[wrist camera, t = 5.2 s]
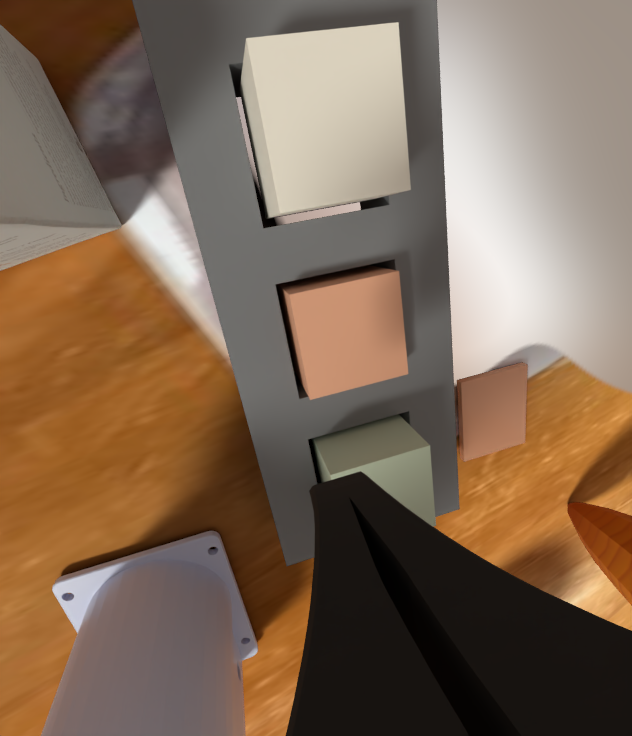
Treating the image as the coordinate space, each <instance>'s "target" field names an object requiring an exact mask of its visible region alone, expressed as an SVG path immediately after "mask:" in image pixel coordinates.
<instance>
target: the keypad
mask: <svg viewBox="0 0 632 736" xmlns="http://www.w3.org/2000/svg"><path fill="white" fill-rule="evenodd" d="M132 1H133V5H134V9H135V12H136V16H137V20H138V23H139V27H140V31H141V34H142V38H143V42H144V45H145V49H146V53H147V56H148V60H149V64H150V67H151V71H152V75H153V78H154V82H155V86H156V89H157V93H158V97H159V100H160V104H161V108H162V111H163V115H164V119H165V122H166V126H167V130H168V133H169V137H170V140H171V144H172V148H173V151H174V155H175V159H176V162H177V166H178V170H179V173H180V177H181V181H182V184H183V188H184V192H185V195H186V199H187V203H188V206H189V210H190V214H191V217H192V221H193V225H194V228H195V232H196V236H197V239H198V243H199V247H200V250H201V254H202V258H203V261H204V265H205V269H206V272H207V276H208V280H209V283H210V287H211V291H212V294H213V298H214V302H215V305H216V309H217V313H218V316H219V320H220V324H221V327H222V331H223V335H224V338H225V342H226V346H227V349H228V353H229V357H230V360H231V364H232V368H233V371H234V375H235V379H236V382H237V386H238V390H239V393H240V397H241V401H242V404H243V408H244V412H245V415H246V419H247V423H248V426H249V430H250V434H251V437H252V441H253V445H254V448H255V452H256V456H257V459H258V463H259V467H260V470H261V474H262V478H263V481H264V485H265V489H266V492H267V496H268V499H269V503H270V507H271V510H272V514H273V518H274V521H275V525H276V529H277V532H278V536H279V540H280V543H281V547H282V551H283V554H284V558H285V562H286V565H287V566H289V565H292V564H295V563H298V562H301V561H304V560H307V559H310V558H313V557H314V552H315V523H314V511H313V506H312V502H311V497H310V493H309V490H310V489H311V487H312V486H313V485H316V484H320V483H321V482H320V483H317V481H316V476H315V471H314V466H313V462H312V457H311V452H310V447H309V443H308V439H311V438H315V437H319V436H322V435H326V434H329V433H333V432H336V431H340V430H343V429H347V428H351V427H354V426H358V425H361V424H365V423H368V422H372V421H375V420H379V419H383V418H386V417H390V416H393V415H397V414H399V415H400V416H401V417H402V418H403V419H404V420H405V421H406V422H407V423H408V424H409V425H410V426H411V427H412V428H413V429H414V430H415V431H416V432H417V433H418V434H419V435H420V436H421V437H422V438H423V439H424V440H425V441H426V442H427V443H428V444H429V445H430V453H431V466H432V479H433V493H434V506H435V517H437V516H440V515H443V514H446V513H449V512H452V511H455V510H458V509H459V489H458V467H457V445H456V422H455V400H454V379H453V355H452V333H451V311H450V288H449V268H448V267H449V266H448V245H447V222H446V221H447V220H446V199H445V176H444V155H443V154H444V153H443V131H442V109H441V86H440V64H439V41H438V19H437V0H132ZM396 22H398V23H399V37H400V50H401V63H402V77H403V90H404V104H405V117H406V131H407V144H408V157H409V171H410V184H411V190H408V191H404V192H400V193H396V194H392V195H388V196H384V197H380V198H376V199H372V200H367V201H362V202H360V205H361V210H360V211H354V212H349V213H343V214H338V215H333V216H327V217H322V218H317V219H311V220H306V221H301V222H295V223H290V224H284V225H279V226H274V227H268V228H263V224H262V219H261V215H260V210H259V205H258V200H257V196H256V191H255V186H254V181H253V177H252V172H251V167H250V162H249V158H248V153H247V148H246V144H245V139H244V135H243V129H242V125H241V120H240V115H239V111H238V106H237V101H236V97H241V94H240V82H241V74H242V66H243V59H244V51H245V43H246V38H253V37H263V36H272V35H282V34H291V33H301V32H310V31H320V30H329V29H339V28H348V27H358V26H367V25H377V24H386V23H396ZM365 265H371V266H376V267H381V268H386V269H391V270H397V271H399V276H400V287H401V298H402V309H403V320H404V331H405V342H406V353H407V364H408V374H407V375H403V376H399V377H395V378H392V379H388V380H384V381H380V382H376V383H373V384H369V385H365V386H361V387H358V388H354V389H350V390H346V391H342V392H339V393H335V394H331V395H327V396H323V397H320V398H316V399H312V400H310V398H309V397H308V395H307V393H306V391H305V389H304V387H303V386H302V384H301V382H300V380H299V378H298V376H297V375H296V373H295V372H294V371H293V367H292V362H291V357H290V352H289V348H288V343H287V338H286V333H285V329H284V324H283V319H282V314H281V310H280V305H279V300H278V295H277V291H276V286H275V284H280V283H284V282H289V281H294V280H299V279H303V278H308V277H313V276H318V275H322V274H327V273H332V272H336V271H341V270H346V269H351V268H355V267H360V266H365Z"/></svg>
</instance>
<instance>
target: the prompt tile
mask: <svg viewBox="0 0 632 736" xmlns="http://www.w3.org/2000/svg"><path fill="white" fill-rule="evenodd" d="M527 368H528V365H527V364H525V363H523V362H522V363H518V364H514V365H511V366H507V367H503V368H500V369H496V370H492V371H489V372H485V373H482V374H478V375H474V376H470V377H467V378H463V379H459V380H457V394H458V418H459V443H460V458H461V459H462V460H463V461H464V462H465V461H468V460H471V459H474V458H478V457H481V456H484V455H487V454H490V453H494V452H497V451H500V450H503V449H506V448H510V447H513V446H516V445H519V444H523V443H525V430H526V399H527Z"/></svg>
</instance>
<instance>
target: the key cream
mask: <svg viewBox="0 0 632 736" xmlns="http://www.w3.org/2000/svg"><path fill="white" fill-rule="evenodd" d="M240 94H241V99H242V104H243V109H244V114H245V119H246V123H247V128H248V133H249V138H250V142H251V148H252V152H253V157H254V162H255V167H256V172H257V177H258V182H259V186H260V191H261V196H262V201H263V206H264V211H265V215H266V219H269V218H274V217H280V216H285V215H291V214H296V213H301V212H307V211H313V210H318V209H324V208H329V207H334V206H340V205H345V204H350V203H356V202H362V201H367V200H372V199H376V198H380V197H384V196H388V195H392V194H396V193H400V192H404V191H408V190H411V184H410V171H409V157H408V144H407V131H406V117H405V104H404V90H403V77H402V63H401V50H400V37H399V23H398V22H396V23H386V24H377V25H367V26H358V27H348V28H339V29H329V30H320V31H310V32H301V33H291V34H282V35H272V36H263V37H253V38H246V43H245V51H244V59H243V66H242V74H241V82H240Z"/></svg>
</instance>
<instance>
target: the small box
mask: <svg viewBox="0 0 632 736" xmlns="http://www.w3.org/2000/svg"><path fill="white" fill-rule="evenodd" d="M119 228H121V223H120V221H119V219H118V217H117V215H116V213H115V211H114V209H113V207H112V205H111V203H110V201H109V199H108V197H107V195H106V193H105V191H104V189H103V187H102V185H101V183H100V181H99V179H98V177H97V175H96V173H95V171H94V169H93V167H92V166H91V164H90V162H89V160H88V158H87V156H86V154H85V152H84V150H83V148H82V146H81V144H80V142H79V140H78V138H77V136H76V134H75V132H74V130H73V128H72V126H71V124H70V122H69V120H68V118H67V116H66V114H65V112H64V110H63V108H62V106H61V104H60V102H59V100H58V98H57V96H56V94H55V92H54V90H53V88H52V86H51V84H50V82H49V80H48V78H47V77H46V75H45V73H44V71H43V69H42V66H41V64H40V62H39V61H38V59H37V58H36V57H35V56H34V55H33V54H32V53H31V52H30V51H28V50H27V49H26V48H25V47H24V46H23V45H22V44H21V43H20V42H19V41H18V40H17V39H16V38H14V37H13V36H12V35H11V34H10V33H9V32H8V31H7V30H6V29H5V28H4V27H3V26H1V25H0V271H1V270H4V269H6V268H9V267H12V266H15V265H18V264H20V263H23V262H26V261H29V260H31V259H34V258H37V257H40V256H43V255H45V254H48V253H51V252H54V251H56V250H59V249H62V248H65V247H67V246H70V245H73V244H76V243H79V242H82V241H84V240H87V239H90V238H93V237H96V236H99V235H102V234H104V233H107V232H111V231H114V230H117V229H119Z"/></svg>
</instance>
